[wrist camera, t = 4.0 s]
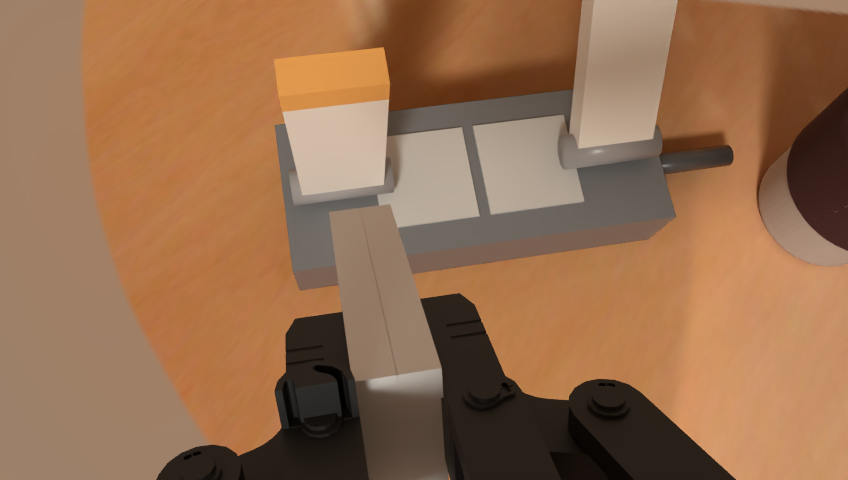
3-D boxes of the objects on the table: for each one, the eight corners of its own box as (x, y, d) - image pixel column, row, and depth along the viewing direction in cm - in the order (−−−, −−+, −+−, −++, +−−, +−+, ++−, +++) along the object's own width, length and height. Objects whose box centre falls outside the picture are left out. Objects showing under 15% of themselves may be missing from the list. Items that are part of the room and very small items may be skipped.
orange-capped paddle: (388, 165, 38) (396, 42, 27) (393, 197, 38) (404, 85, 27) (291, 177, 38) (259, 57, 27) (295, 210, 37) (265, 101, 26)
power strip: (700, 103, 45) (732, 68, 41) (737, 226, 43) (774, 201, 39) (283, 156, 42) (274, 123, 38) (300, 290, 40) (292, 271, 36)
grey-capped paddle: (645, 146, 40) (684, -79, 33) (659, 163, 39) (703, -67, 31) (556, 158, 39) (576, -68, 32) (567, 176, 38) (590, -56, 31)
